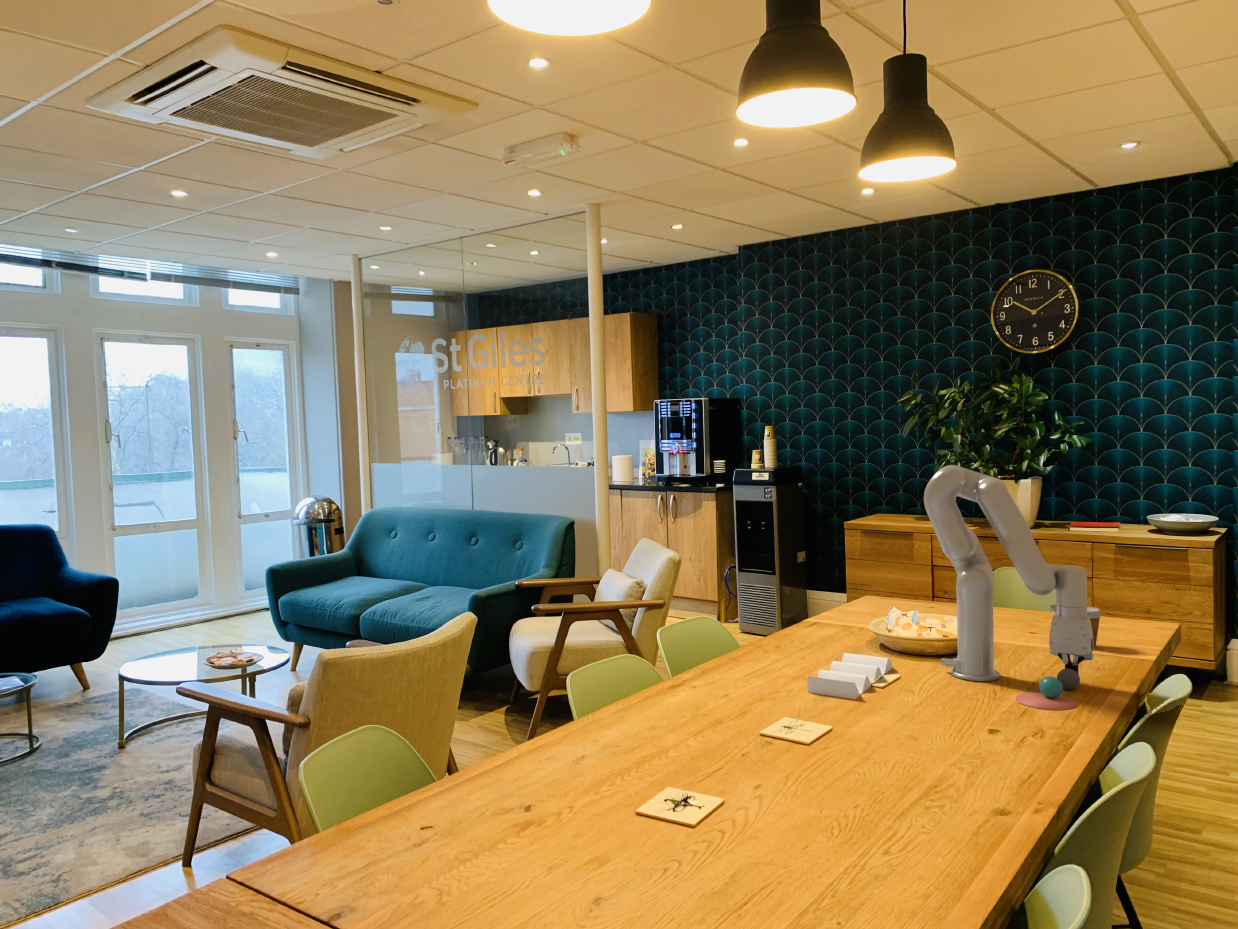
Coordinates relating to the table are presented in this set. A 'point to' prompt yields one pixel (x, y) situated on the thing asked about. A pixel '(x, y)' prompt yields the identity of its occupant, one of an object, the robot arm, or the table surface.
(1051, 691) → the object ball
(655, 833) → the table surface
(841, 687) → the white taco holder
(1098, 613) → the disposable coffee cup
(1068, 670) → the gray ball
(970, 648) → the robot arm
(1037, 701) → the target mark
